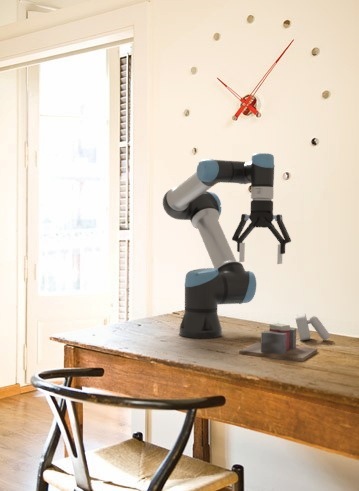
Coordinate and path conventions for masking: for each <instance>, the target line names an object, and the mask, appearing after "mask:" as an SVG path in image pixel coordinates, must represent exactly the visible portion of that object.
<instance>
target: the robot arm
mask: <svg viewBox="0 0 359 491" xmlns="http://www.w3.org/2000/svg"><path fill="white" fill-rule="evenodd" d="M275 167H276V166H275V157H274V155H273V154H272V153H260V152H259V153H253V154H252V155H251V160H250V161H240V160H239V161H238V160H237V161H236V160H222V159H212V158H211V159H210V158H209V159H201V160H200V161H199V162H198V165H197V166H196V172H194V173H193V174H192V175H191V176H190V177H188V178H187V179H186V180H184V181H183V182H182V183H181V184H179V185H178V186H173V187H172V188H170V189H169V190H167V192H166V193H165V194H164V196H163V198H162V207H163V210H164V212H165V213H166V214H167V215H168V216H169V217H171V218H173V219H175V220H181V221H182V220H183V221H190V223H191V226H192V227H193V228H194V229H197V230H198V232H199V235H200V237H201V239H202V242H203V244H204V246H205V249H206V251H207V253H208V256H209V258H210V261H211V264H212V265H213V266H212V267H208V268H197V269H192V270H189V271H187V273H186V274H185V277H184V278H185V279H184V313H183V317H182V319H181V323H180V326H179V330H178V332H179V334H178V335H179V336H181V337H187V338H193V339H212V338H218V337H222V336H223V335H222V334H223V330H222V329H223V328H222V326H221V321H220V318H219V315H218V305H232V304H233V305H234V304H235V305H237V304H239V305H241V304H248V303H250V302H252V301H253V299H254V297H255V295H256V291H257V277H256V276H255V273H254V272H252V271H249V270H245V268H244V265H243V264H242V263H244V262H245V254H246V253H245V247H246V243H245V242H244V240H246V238H247V237H248V236H249V235H250V234H251V232H252V231H253V230H254V229H255V228H263V229H264V228H267V229H268V230H269V231H270V232H271V233H272V235H273V236H274V237H275V239H276V240H277V241H278V243H279V244H277V259H276V260H277V261H276V262H277V263H276V264H277V265H282V264H283V255H285V254H286V244H288V243H291V242H292V239H291V236H290V235H289V233H288V230H287V227H286V226H285V224H284V221H283V215H282V214H275V215H274V201H273V199H274V185H275V184H274V182H275V180H274V179H275ZM219 183H228V184H229V183H231V184H238V185H239V184H240V185H247V184H250V199H252V200H251V201H250V214H247V213H242V214H241V216H240V221H239V223H238V225H237V227H236V229H235V231H234V233H233V236H232V237H231V240H232V241H233V242H236V251H237V253H239V256H238V259H239V261H237V260H236V258H235V256H234V253H233V251H232V249H231V248H232V247H231V246H230V244H229V241H228V239H227V238H226V235H225V233H224V230H223V229H222V227H221V224H220V220H219V219H220V216H221V214H222V203H221V199H220V198H219V196H218V195H217V194H216V193H215V192H212V191H208V190H210V189H211V188H212V187H214V186H216V184H219ZM248 221H250V223H249V224H248V226H247V227H246V228H245V229H244V227H245V225H246V224H247V222H248ZM273 221H275V222H276V223H277V226H278V228H279V230H280V232H279V231H278V229H277V228H276V227H275V225H274V223H273ZM243 230H244V231H243ZM242 231H243V232H242ZM280 233H281V234H282V235H281V234H280Z"/></svg>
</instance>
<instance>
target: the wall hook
mask: <svg viewBox="0 0 359 491" xmlns="http://www.w3.org/2000/svg"><path fill="white" fill-rule="evenodd" d="M295 322H296V323H295V324H296V329H297V332H298V337H299V340H300V342H301V341H306V340H307V341H308V340H311V331H310V328H309V325H311V326H312V327H313V329H314V330H315V331H316V333H317V334H318V336H319V337H320V338H321V340H323V341H327V340H328V339H329V338H331V336H332V335H331V333H329V331H328V330H327V329H326V327H325V326H324V324H323V323H322V322H321V321H320V319H319V318H318V317H317V316H315V315H312V316H311V317H309V319H308V318H307V314H306V313H302V314H301V313H300V314H297V315H295Z"/></svg>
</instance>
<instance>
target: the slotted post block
mask: <svg viewBox="0 0 359 491" xmlns="http://www.w3.org/2000/svg"><path fill="white" fill-rule="evenodd" d="M260 336H261V337H260V338H261V340H260V341H257V342H255V343H253V344H250V345H248V346H246V347H244V348H242V349H241V348H240V349H239V350H238V353H239V355H247V356H254V357H255V356H256V357H262V358H271V359H279V360H287V361H295V362H301V363H302V362H304V361H305V360H308V359H309V358H310V357H312V356H314V355H315V354H317V353H318V348H316V347H315V348H314V347H306V346H305V347H304V346H297V328H293V327H290V336H289V350H286V342H287V333H280V332H270V331H269V330H264V331H262V332H261V335H260Z"/></svg>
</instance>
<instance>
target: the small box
mask: <svg viewBox="0 0 359 491" xmlns="http://www.w3.org/2000/svg"><path fill="white" fill-rule="evenodd" d="M290 328H291V325H290V324H285V323H280V322H276V323H270V324H269V330H268V331H270V332H280V333H287V342H286V350H289V336H290Z"/></svg>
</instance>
